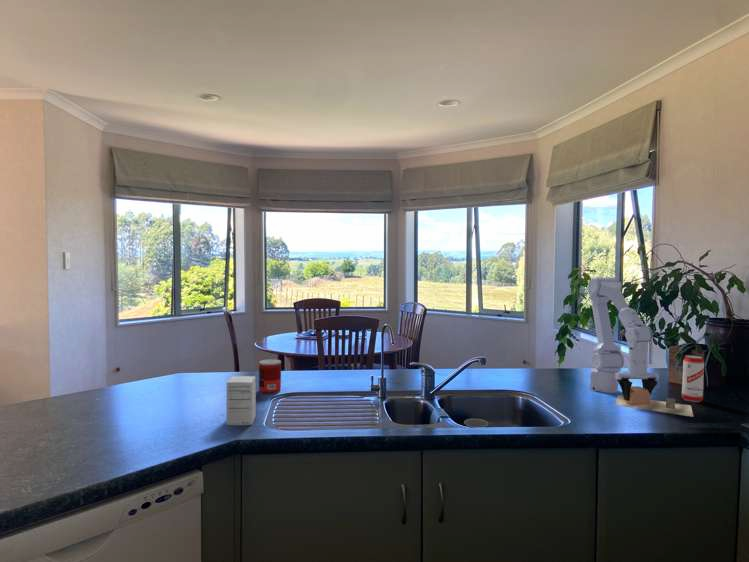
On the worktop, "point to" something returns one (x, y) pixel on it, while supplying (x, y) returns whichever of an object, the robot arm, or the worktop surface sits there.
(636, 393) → the tan boxy piece
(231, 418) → the supplement box
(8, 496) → the worktop surface
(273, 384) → the canned food
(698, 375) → the beer can
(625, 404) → the board
